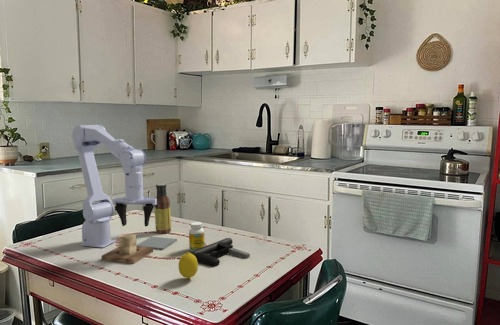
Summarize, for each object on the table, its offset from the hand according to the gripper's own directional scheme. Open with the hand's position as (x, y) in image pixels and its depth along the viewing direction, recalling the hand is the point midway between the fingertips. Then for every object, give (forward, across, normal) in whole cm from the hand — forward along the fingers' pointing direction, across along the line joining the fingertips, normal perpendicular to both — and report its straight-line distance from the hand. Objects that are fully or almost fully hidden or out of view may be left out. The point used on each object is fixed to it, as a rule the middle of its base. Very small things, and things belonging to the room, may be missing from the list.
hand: (135, 225), depth 135 cm
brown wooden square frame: (+10, -2, -1) cm, 11 cm away
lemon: (+10, +22, -20) cm, 31 cm away
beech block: (+10, -2, -1) cm, 11 cm away
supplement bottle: (+10, +20, +6) cm, 23 cm away
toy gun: (+11, +30, 0) cm, 32 cm away
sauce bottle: (+10, +2, +26) cm, 29 cm away
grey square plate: (+10, +4, +12) cm, 16 cm away
